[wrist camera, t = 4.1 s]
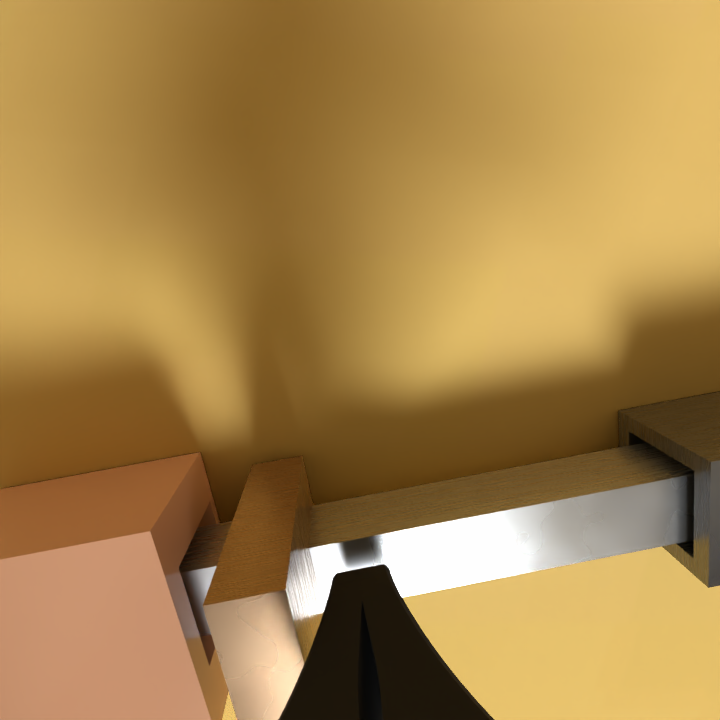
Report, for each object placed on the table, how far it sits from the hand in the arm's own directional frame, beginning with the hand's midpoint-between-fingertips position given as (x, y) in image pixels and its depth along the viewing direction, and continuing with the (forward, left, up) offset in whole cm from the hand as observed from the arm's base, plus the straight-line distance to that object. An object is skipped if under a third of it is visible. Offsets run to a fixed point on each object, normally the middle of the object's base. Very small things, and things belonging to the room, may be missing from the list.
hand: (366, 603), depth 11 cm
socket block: (+7, 0, -4) cm, 8 cm away
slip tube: (-4, 0, -4) cm, 5 cm away
